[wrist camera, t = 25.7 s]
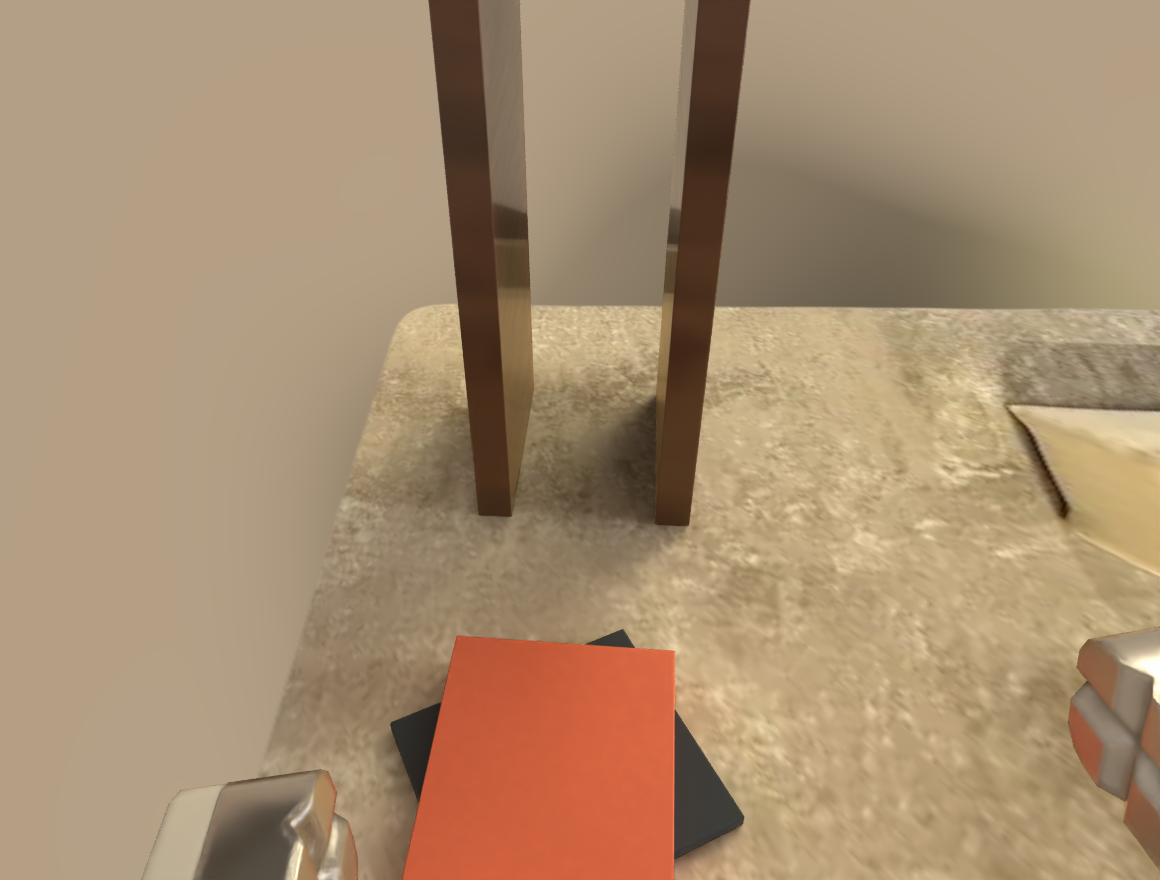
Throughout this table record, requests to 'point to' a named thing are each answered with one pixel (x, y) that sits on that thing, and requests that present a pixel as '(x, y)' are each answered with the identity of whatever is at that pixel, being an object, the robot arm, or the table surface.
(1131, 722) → the robot arm
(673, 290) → the stand
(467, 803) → the red square paddle
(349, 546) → the table surface
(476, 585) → the table surface
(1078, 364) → the table surface
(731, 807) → the mat
